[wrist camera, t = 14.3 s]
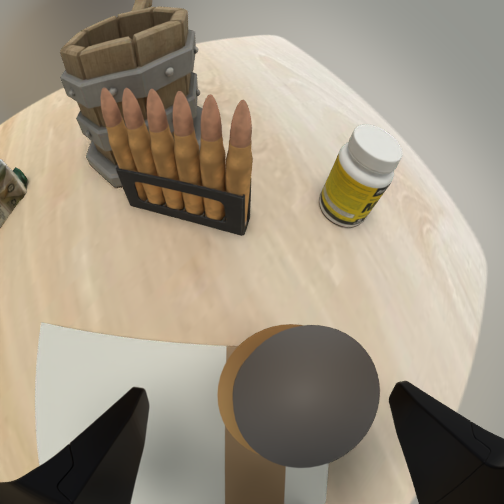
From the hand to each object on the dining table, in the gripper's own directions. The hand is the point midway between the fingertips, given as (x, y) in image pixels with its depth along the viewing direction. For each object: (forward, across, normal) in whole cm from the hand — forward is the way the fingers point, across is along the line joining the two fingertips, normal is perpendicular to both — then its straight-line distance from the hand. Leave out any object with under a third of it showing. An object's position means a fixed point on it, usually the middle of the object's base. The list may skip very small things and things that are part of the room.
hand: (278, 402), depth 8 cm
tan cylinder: (+7, 0, +6) cm, 9 cm away
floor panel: (+3, +6, +12) cm, 13 cm away
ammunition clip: (+18, +6, -3) cm, 19 cm away
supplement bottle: (+18, -8, -4) cm, 20 cm away
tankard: (+26, +12, -12) cm, 31 cm away
